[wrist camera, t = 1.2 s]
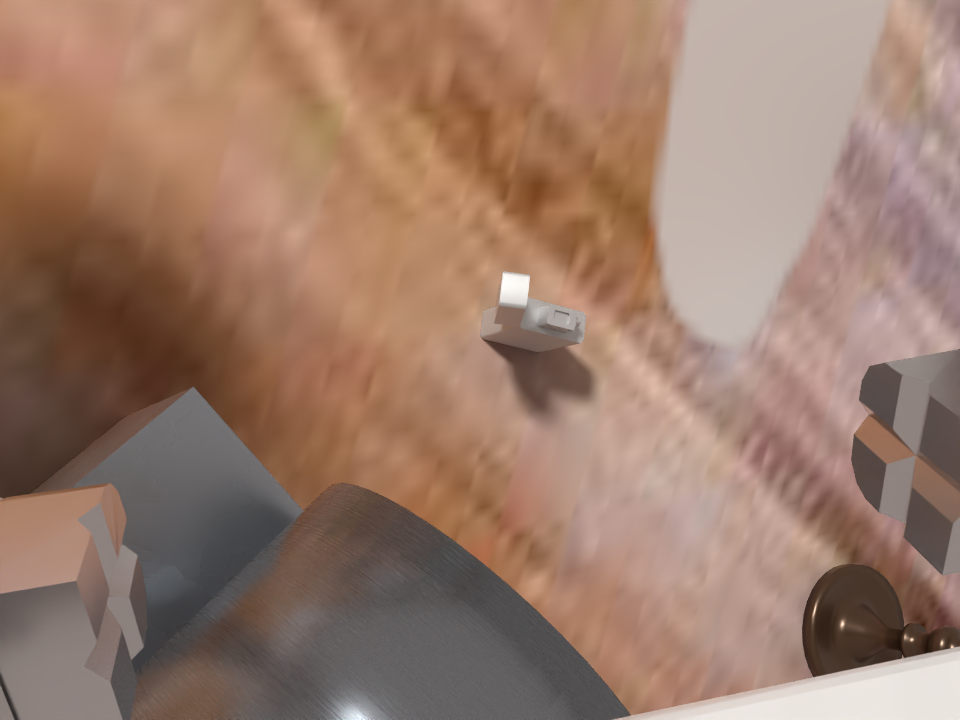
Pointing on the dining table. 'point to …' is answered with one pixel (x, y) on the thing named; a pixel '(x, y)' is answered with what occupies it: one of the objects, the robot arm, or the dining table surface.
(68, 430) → the dining table surface
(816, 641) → the candlestick
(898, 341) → the dining table surface
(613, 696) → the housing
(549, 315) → the lighter
